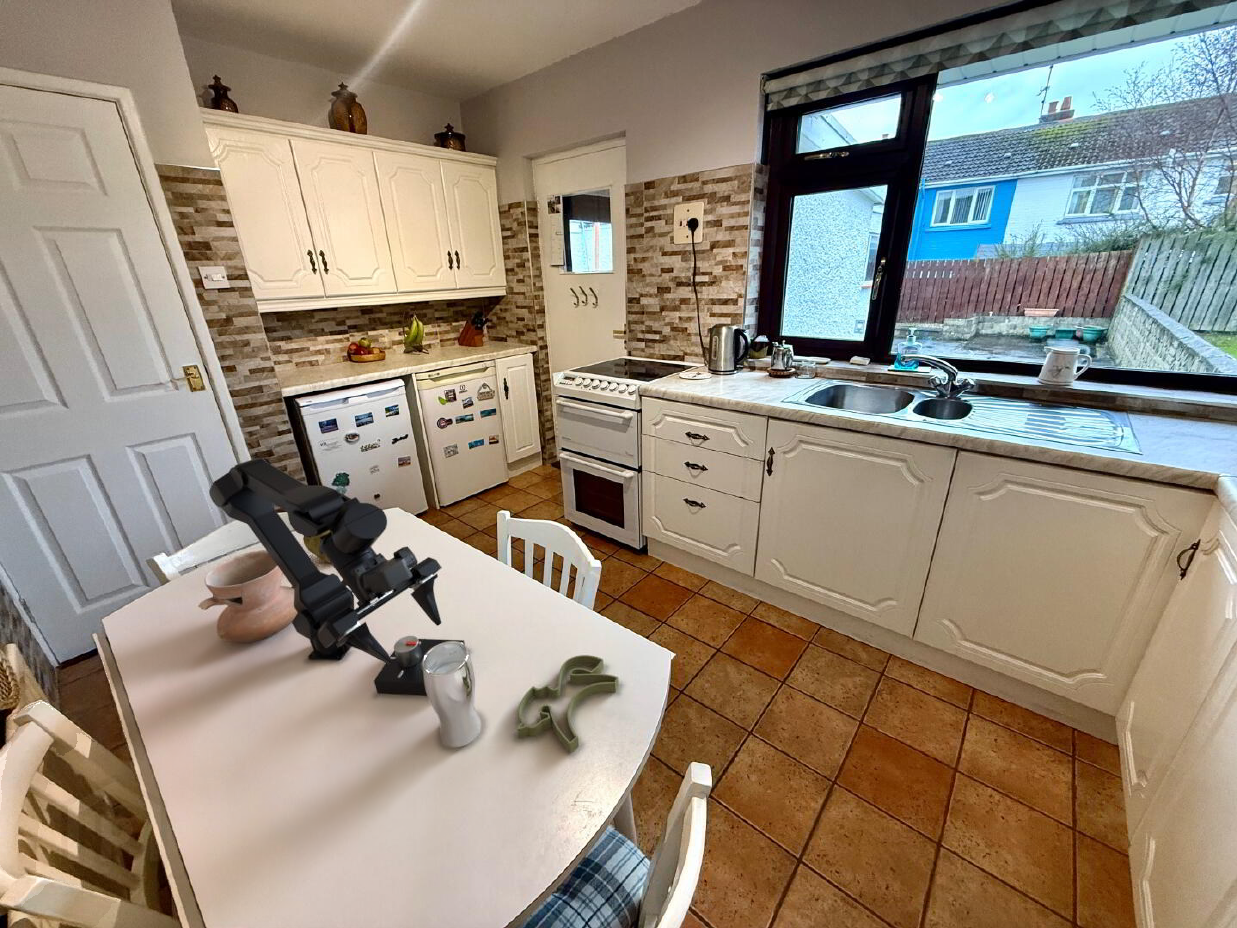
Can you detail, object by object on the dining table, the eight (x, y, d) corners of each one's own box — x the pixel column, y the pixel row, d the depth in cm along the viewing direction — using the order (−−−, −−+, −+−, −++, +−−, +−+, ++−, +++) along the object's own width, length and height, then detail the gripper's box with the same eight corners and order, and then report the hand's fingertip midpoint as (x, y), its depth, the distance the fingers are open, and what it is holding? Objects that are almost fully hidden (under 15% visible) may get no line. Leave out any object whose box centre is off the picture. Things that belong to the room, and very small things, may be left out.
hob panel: (376, 694, 82) (372, 680, 81) (404, 650, 92) (401, 637, 90) (445, 696, 82) (442, 683, 80) (466, 652, 91) (464, 639, 89)
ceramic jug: (239, 665, 89) (211, 603, 84) (201, 639, 96) (173, 580, 90) (332, 607, 103) (314, 551, 98) (294, 588, 110) (275, 534, 104)
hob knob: (393, 667, 84) (388, 650, 82) (404, 650, 88) (400, 633, 86) (415, 668, 84) (411, 651, 82) (425, 650, 87) (421, 634, 86)
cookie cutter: (565, 765, 70) (564, 755, 69) (503, 728, 76) (502, 719, 75) (626, 678, 84) (626, 669, 83) (570, 653, 90) (570, 644, 89)
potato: (323, 574, 115) (314, 545, 112) (304, 554, 123) (295, 527, 120) (359, 558, 121) (351, 530, 117) (339, 540, 129) (331, 514, 125)
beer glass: (429, 747, 73) (409, 673, 67) (451, 708, 79) (434, 637, 74) (472, 754, 72) (456, 679, 66) (491, 713, 78) (477, 642, 72)
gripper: (309, 576, 63) (379, 673, 63) (425, 514, 78) (483, 592, 78) (290, 603, 70) (354, 690, 70) (400, 541, 85) (453, 612, 84)
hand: (416, 642), depth 75 cm, fingers open, 9 cm apart
